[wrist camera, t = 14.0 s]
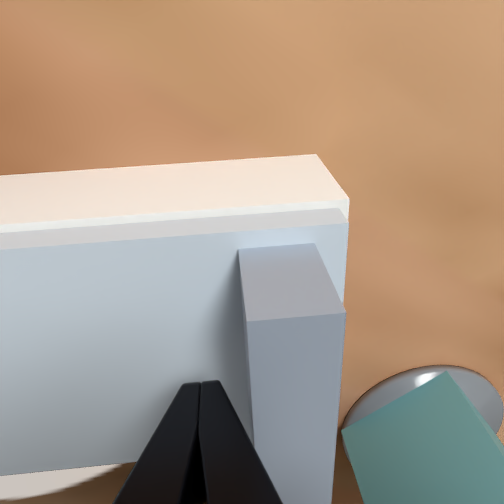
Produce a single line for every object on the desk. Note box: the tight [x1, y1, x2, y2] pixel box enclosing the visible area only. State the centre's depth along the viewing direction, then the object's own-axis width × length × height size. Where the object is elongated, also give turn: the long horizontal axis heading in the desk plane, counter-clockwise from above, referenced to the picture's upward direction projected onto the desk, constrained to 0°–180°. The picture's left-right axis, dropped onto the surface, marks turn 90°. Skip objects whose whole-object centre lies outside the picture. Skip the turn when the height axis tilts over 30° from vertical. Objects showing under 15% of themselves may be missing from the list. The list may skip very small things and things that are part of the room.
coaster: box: [342, 365, 504, 463], centre depth 19 cm, size 7×7×1 cm
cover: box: [0, 208, 349, 504], centre depth 10 cm, size 10×7×3 cm
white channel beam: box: [0, 154, 349, 233], centre depth 13 cm, size 13×7×4 cm, turn 93°
